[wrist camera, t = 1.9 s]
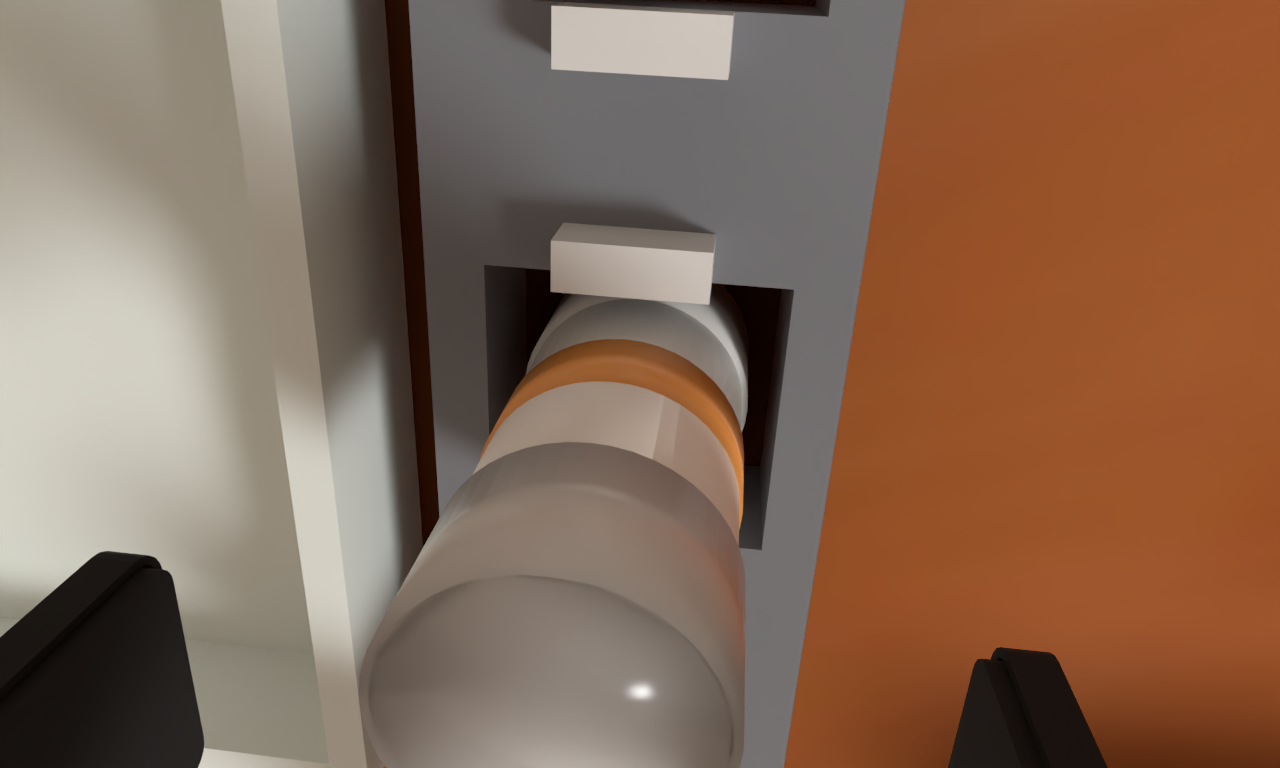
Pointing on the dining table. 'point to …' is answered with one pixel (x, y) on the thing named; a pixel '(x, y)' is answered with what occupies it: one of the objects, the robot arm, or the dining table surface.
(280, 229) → the tray
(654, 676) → the marked fuse
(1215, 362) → the dining table surface
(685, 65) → the fuse block
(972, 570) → the dining table surface
